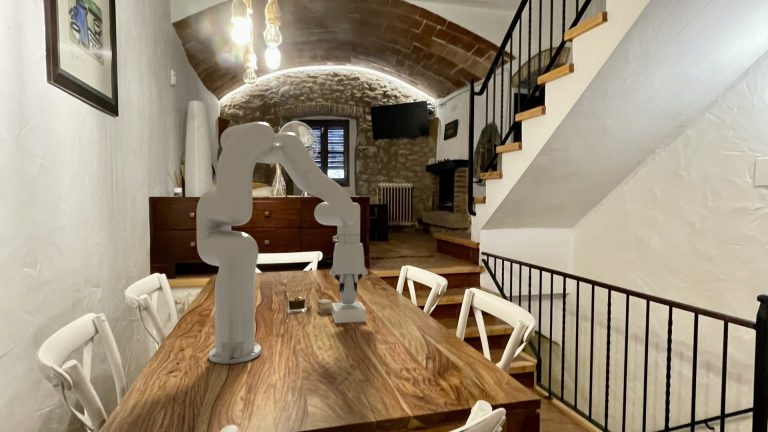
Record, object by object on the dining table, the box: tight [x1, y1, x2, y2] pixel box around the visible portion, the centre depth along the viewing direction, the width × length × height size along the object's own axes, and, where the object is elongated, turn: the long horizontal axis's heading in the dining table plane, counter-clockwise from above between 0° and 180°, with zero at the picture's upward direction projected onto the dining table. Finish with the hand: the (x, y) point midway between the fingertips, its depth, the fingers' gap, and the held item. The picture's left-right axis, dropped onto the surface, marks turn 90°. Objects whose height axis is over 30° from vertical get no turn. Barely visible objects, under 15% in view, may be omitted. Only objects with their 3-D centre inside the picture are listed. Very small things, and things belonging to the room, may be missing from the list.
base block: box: [331, 301, 367, 324], centre depth 137 cm, size 10×10×4 cm
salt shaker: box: [339, 274, 358, 304], centre depth 137 cm, size 6×6×13 cm
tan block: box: [316, 298, 334, 315], centre depth 144 cm, size 4×4×4 cm
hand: (348, 293), depth 137 cm, fingers closed on salt shaker, 3 cm apart
